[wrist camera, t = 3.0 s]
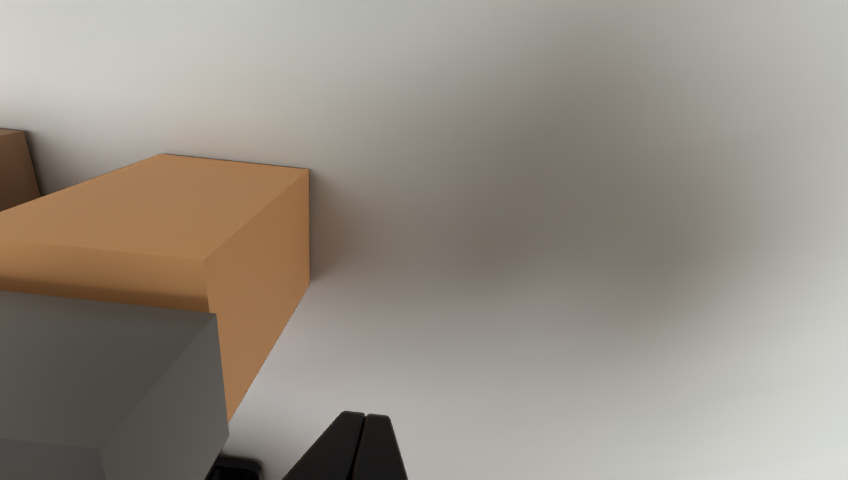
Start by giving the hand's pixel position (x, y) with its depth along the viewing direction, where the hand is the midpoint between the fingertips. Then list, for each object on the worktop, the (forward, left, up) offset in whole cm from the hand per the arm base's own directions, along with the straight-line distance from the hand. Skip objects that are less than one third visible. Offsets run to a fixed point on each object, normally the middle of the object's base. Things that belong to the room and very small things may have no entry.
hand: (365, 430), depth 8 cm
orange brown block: (0, +6, -8) cm, 10 cm away
